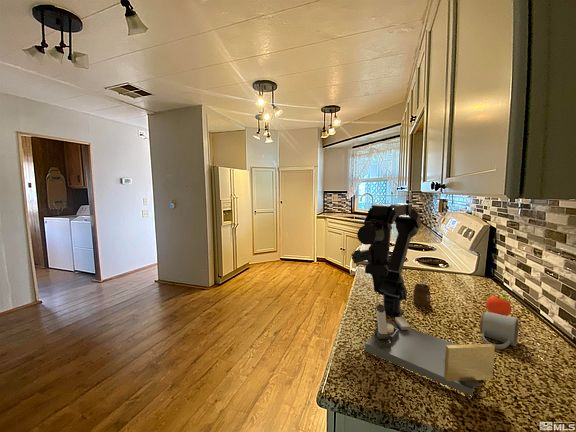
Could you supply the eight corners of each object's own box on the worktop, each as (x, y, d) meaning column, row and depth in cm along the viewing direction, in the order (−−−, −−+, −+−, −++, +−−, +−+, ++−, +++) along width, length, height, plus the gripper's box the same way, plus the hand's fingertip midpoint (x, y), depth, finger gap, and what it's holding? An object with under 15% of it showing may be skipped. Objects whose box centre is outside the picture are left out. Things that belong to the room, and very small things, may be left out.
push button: (383, 326, 74) (383, 321, 74) (395, 331, 72) (395, 326, 72) (378, 331, 72) (378, 326, 72) (390, 336, 69) (390, 331, 69)
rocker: (394, 320, 78) (395, 317, 77) (403, 319, 78) (403, 317, 77) (401, 329, 73) (402, 326, 73) (410, 329, 73) (410, 326, 73)
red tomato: (507, 312, 89) (509, 293, 89) (519, 322, 83) (521, 302, 82) (481, 309, 92) (482, 291, 91) (490, 319, 85) (492, 299, 84)
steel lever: (377, 338, 68) (373, 304, 70) (386, 338, 68) (383, 304, 70) (380, 340, 66) (376, 305, 68) (390, 340, 66) (386, 304, 68)
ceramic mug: (483, 328, 79) (484, 305, 78) (518, 339, 73) (520, 315, 72) (475, 342, 72) (476, 317, 71) (512, 356, 66) (514, 329, 65)
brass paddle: (440, 376, 55) (442, 342, 54) (484, 375, 56) (487, 341, 55) (450, 387, 52) (452, 351, 52) (496, 385, 53) (499, 349, 52)
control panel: (387, 327, 80) (387, 315, 80) (480, 361, 64) (482, 346, 64) (364, 351, 69) (365, 336, 68) (472, 400, 52) (473, 381, 52)
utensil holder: (412, 304, 96) (414, 274, 95) (413, 298, 102) (414, 269, 101) (430, 307, 93) (431, 276, 92) (429, 301, 99) (431, 271, 98)
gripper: (358, 238, 92) (355, 280, 92) (349, 242, 74) (345, 294, 75) (391, 242, 87) (387, 286, 87) (389, 247, 70) (385, 302, 70)
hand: (376, 291), depth 80 cm, fingers closed
